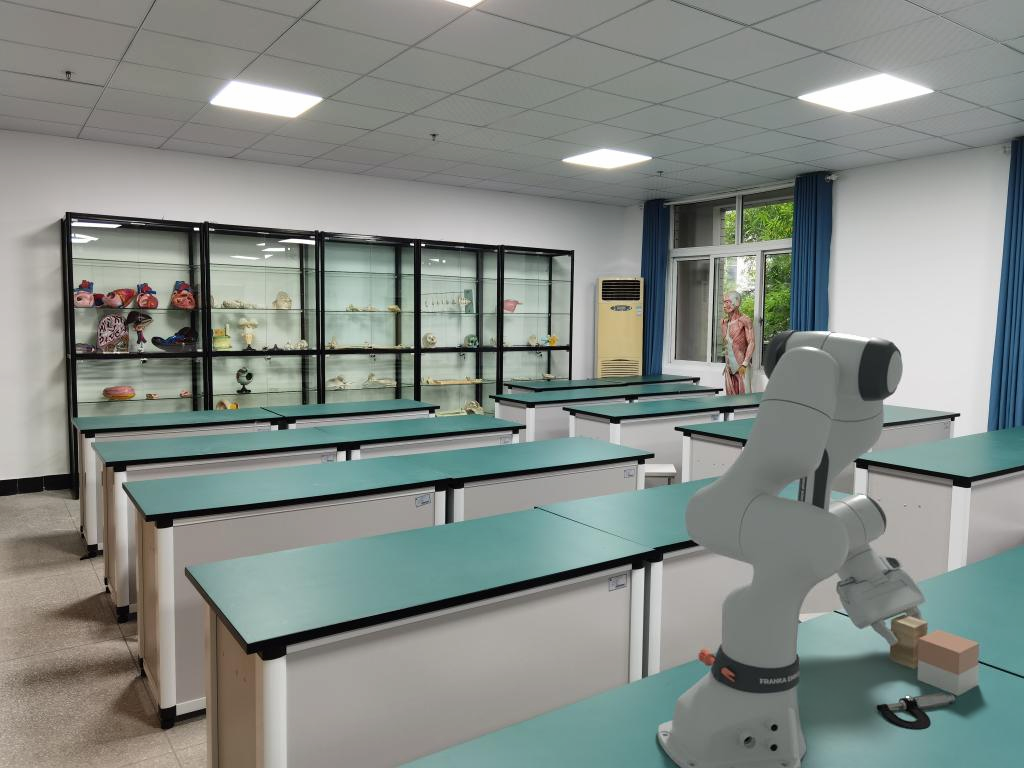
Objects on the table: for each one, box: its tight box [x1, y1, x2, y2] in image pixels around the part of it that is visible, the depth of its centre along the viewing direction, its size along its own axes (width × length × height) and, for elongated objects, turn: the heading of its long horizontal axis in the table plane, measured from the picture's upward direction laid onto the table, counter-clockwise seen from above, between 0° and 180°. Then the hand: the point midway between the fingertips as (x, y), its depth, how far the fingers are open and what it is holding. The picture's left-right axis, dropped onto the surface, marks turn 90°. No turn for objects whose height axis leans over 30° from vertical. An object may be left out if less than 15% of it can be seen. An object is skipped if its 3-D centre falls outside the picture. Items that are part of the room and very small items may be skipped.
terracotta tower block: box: [918, 629, 980, 675], centre depth 129 cm, size 7×7×4 cm
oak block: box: [889, 614, 929, 669], centre depth 138 cm, size 4×4×8 cm
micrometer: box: [876, 692, 956, 731], centre depth 119 cm, size 15×7×2 cm, turn 102°
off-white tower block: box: [917, 660, 980, 697], centre depth 130 cm, size 7×7×4 cm
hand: (910, 637), depth 137 cm, fingers open, 8 cm apart
